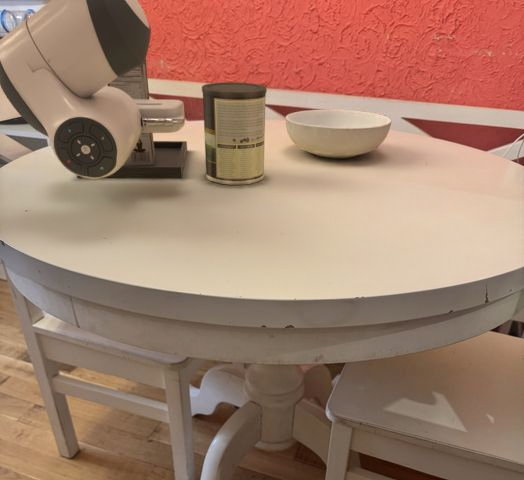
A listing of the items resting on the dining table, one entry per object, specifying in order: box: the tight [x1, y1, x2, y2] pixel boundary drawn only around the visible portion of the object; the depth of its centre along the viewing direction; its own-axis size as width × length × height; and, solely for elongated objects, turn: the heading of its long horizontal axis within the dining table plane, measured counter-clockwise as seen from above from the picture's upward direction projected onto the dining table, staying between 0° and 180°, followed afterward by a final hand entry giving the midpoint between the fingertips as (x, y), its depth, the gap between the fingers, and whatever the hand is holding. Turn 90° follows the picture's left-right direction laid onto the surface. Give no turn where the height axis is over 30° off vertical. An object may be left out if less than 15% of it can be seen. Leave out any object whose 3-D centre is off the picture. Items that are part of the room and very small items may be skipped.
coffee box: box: [107, 59, 155, 166], centre depth 88 cm, size 9×6×16 cm
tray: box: [76, 140, 188, 179], centre depth 93 cm, size 18×20×2 cm
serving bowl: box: [285, 109, 392, 159], centre depth 101 cm, size 21×21×7 cm
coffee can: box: [201, 81, 268, 186], centre depth 83 cm, size 10×10×14 cm
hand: (124, 106), depth 82 cm, fingers open, 8 cm apart
